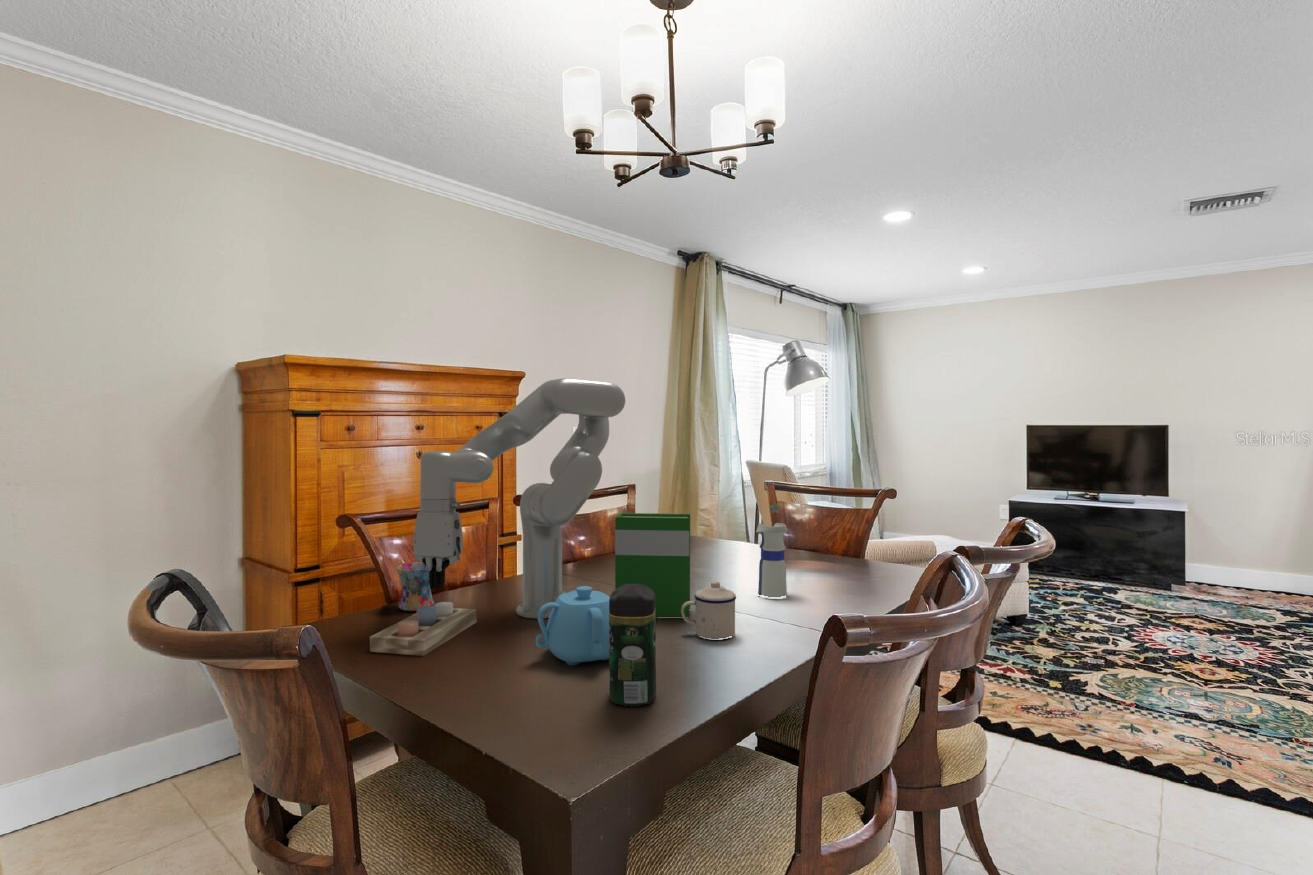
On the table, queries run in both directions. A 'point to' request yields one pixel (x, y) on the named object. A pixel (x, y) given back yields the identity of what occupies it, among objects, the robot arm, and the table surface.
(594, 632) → the decorative pot
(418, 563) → the multicolour ceramic cup
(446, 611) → the button ivory
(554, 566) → the robot arm
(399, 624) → the button terracotta
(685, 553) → the hardback book
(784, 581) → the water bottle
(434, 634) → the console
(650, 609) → the coffee jar
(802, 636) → the table surface
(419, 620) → the button slate
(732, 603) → the teacup with lid
